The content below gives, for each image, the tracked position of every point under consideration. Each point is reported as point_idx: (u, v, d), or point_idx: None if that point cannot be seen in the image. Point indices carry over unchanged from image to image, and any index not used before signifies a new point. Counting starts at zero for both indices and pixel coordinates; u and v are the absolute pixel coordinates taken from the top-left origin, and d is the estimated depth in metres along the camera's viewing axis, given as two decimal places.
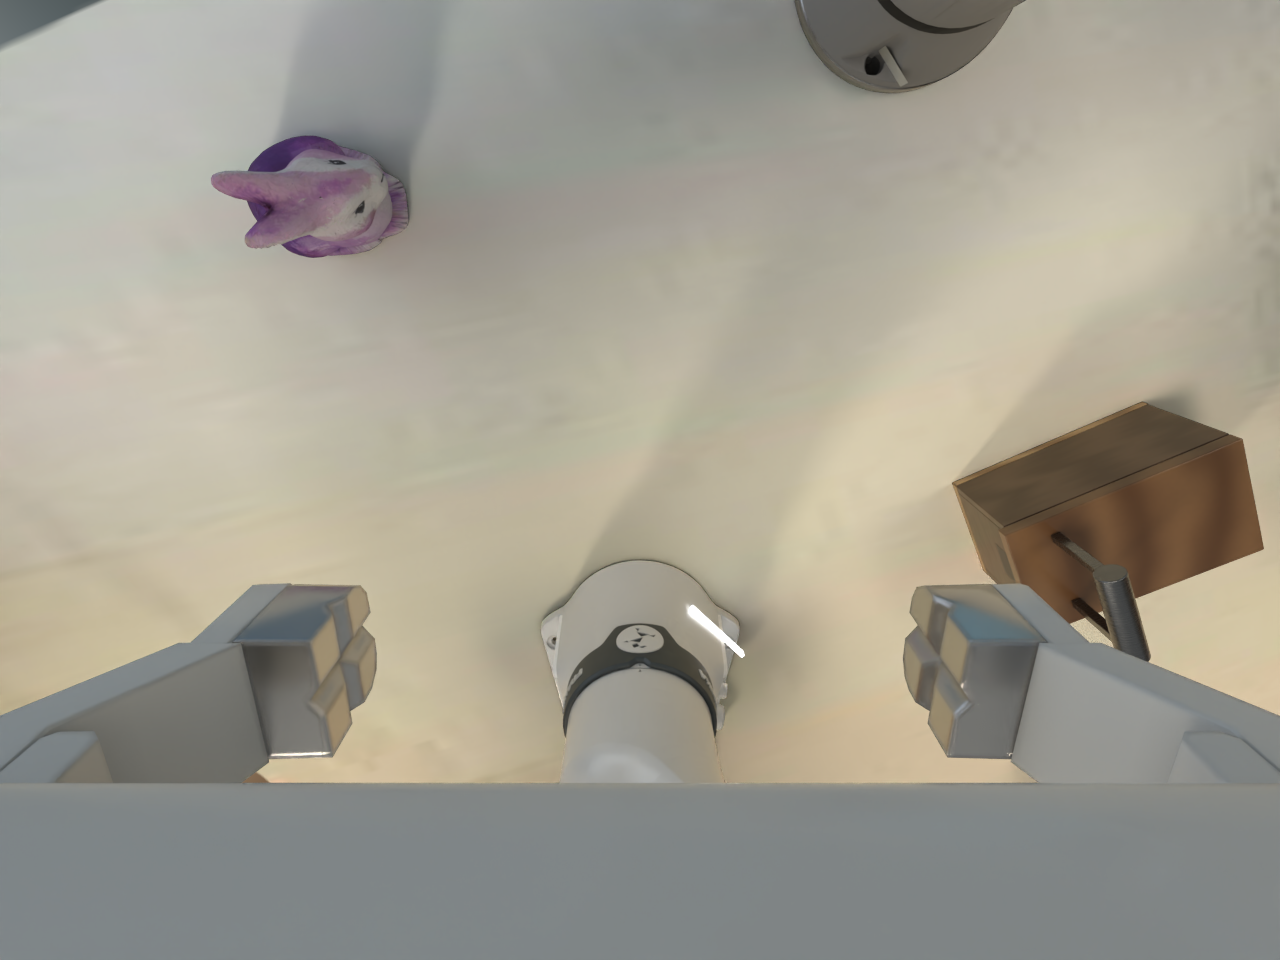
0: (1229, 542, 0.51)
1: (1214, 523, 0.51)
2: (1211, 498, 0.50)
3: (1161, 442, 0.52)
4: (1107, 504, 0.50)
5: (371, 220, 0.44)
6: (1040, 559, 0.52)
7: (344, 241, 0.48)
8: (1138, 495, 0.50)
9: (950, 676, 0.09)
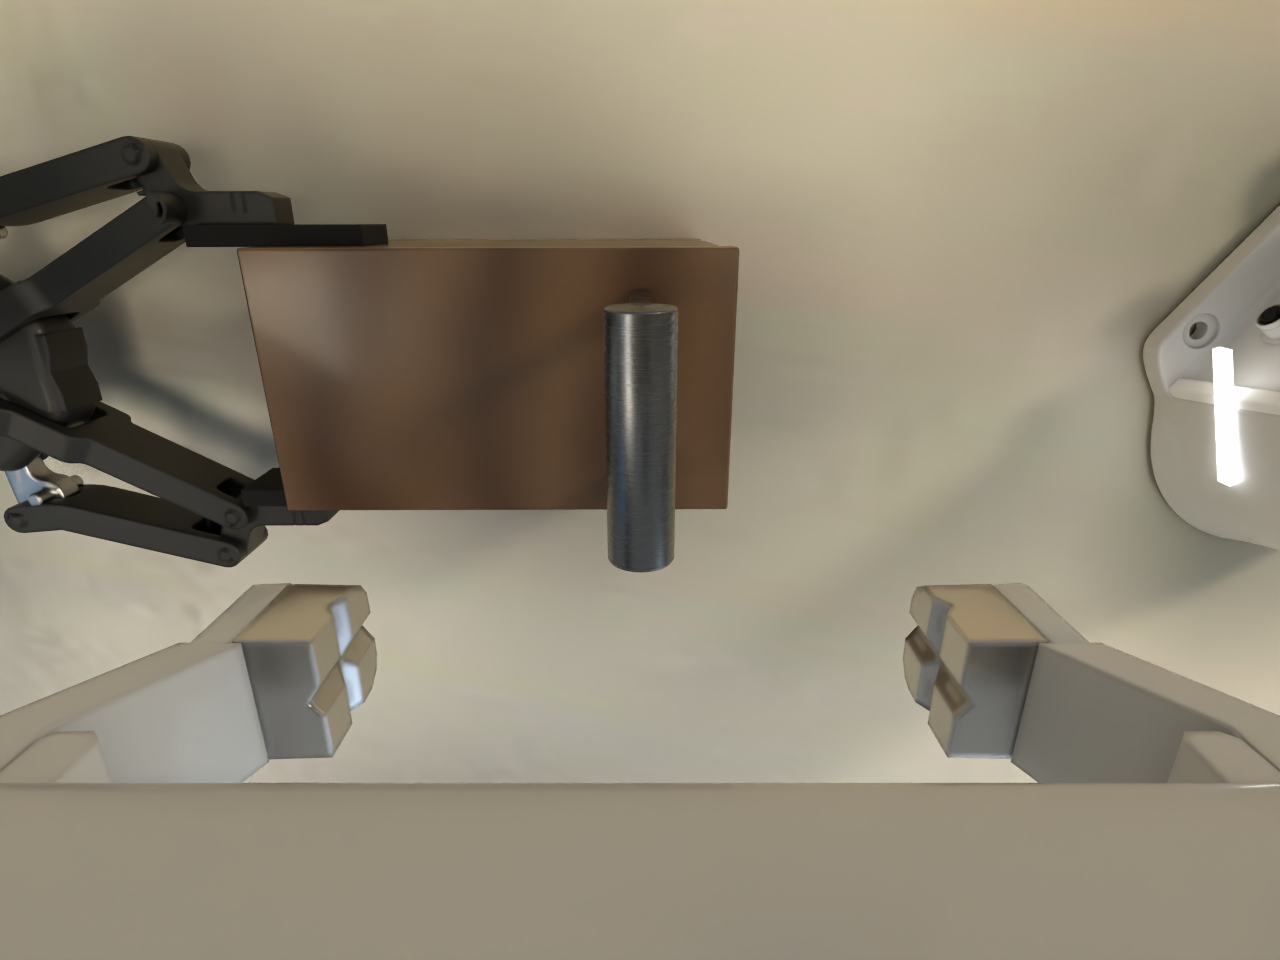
0: (310, 300, 0.24)
1: (340, 360, 0.25)
2: (345, 419, 0.25)
3: None
4: (535, 490, 0.26)
5: None
6: (681, 433, 0.26)
7: None
8: (478, 483, 0.26)
9: (950, 676, 0.09)
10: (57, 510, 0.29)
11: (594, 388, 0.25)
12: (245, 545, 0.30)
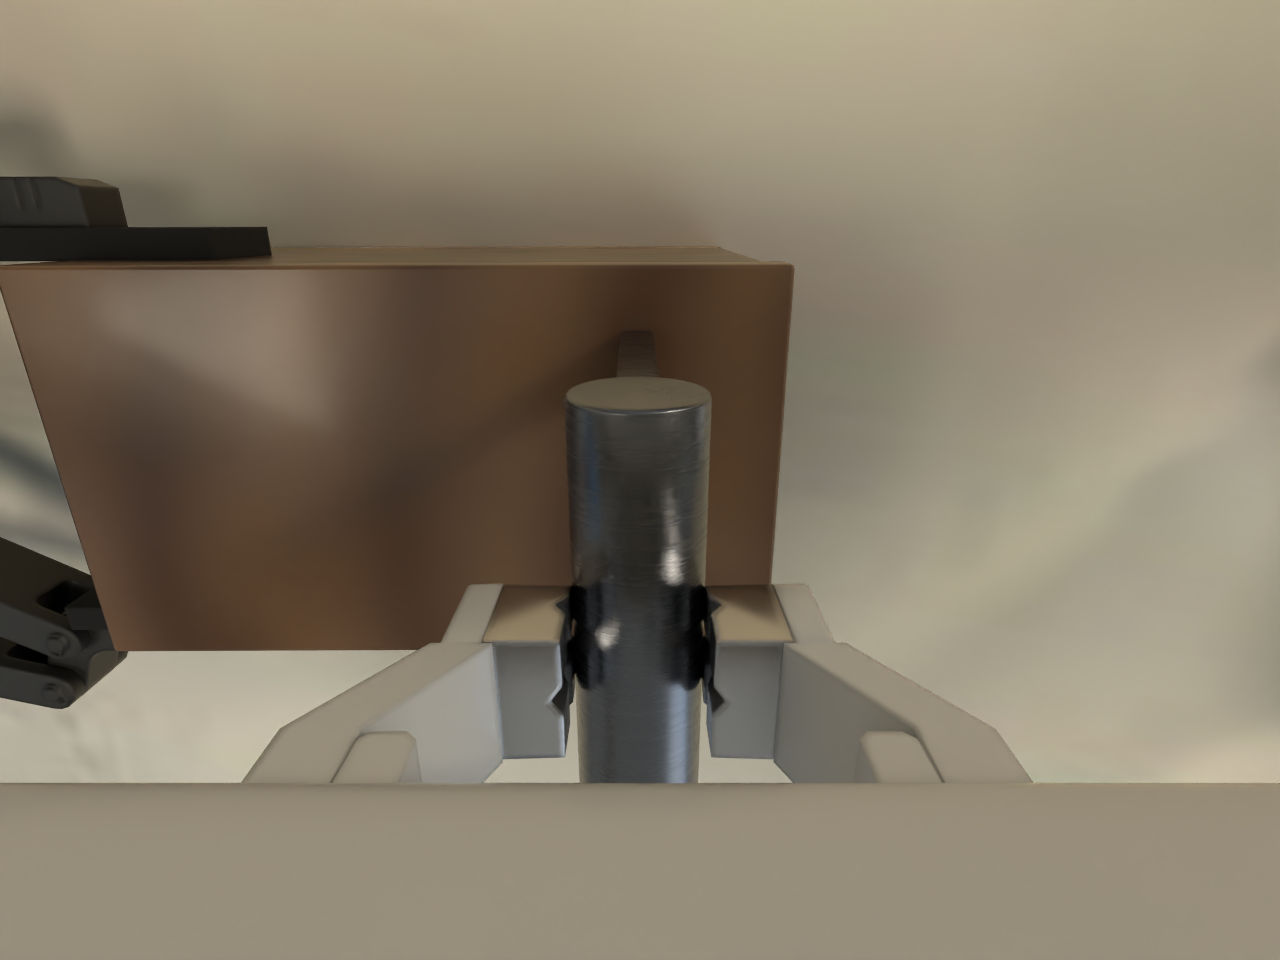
0: (119, 347, 0.15)
1: (174, 437, 0.16)
2: (189, 523, 0.17)
3: None
4: None
5: None
6: None
7: None
8: (396, 614, 0.18)
9: None
10: None
11: None
12: (83, 677, 0.22)
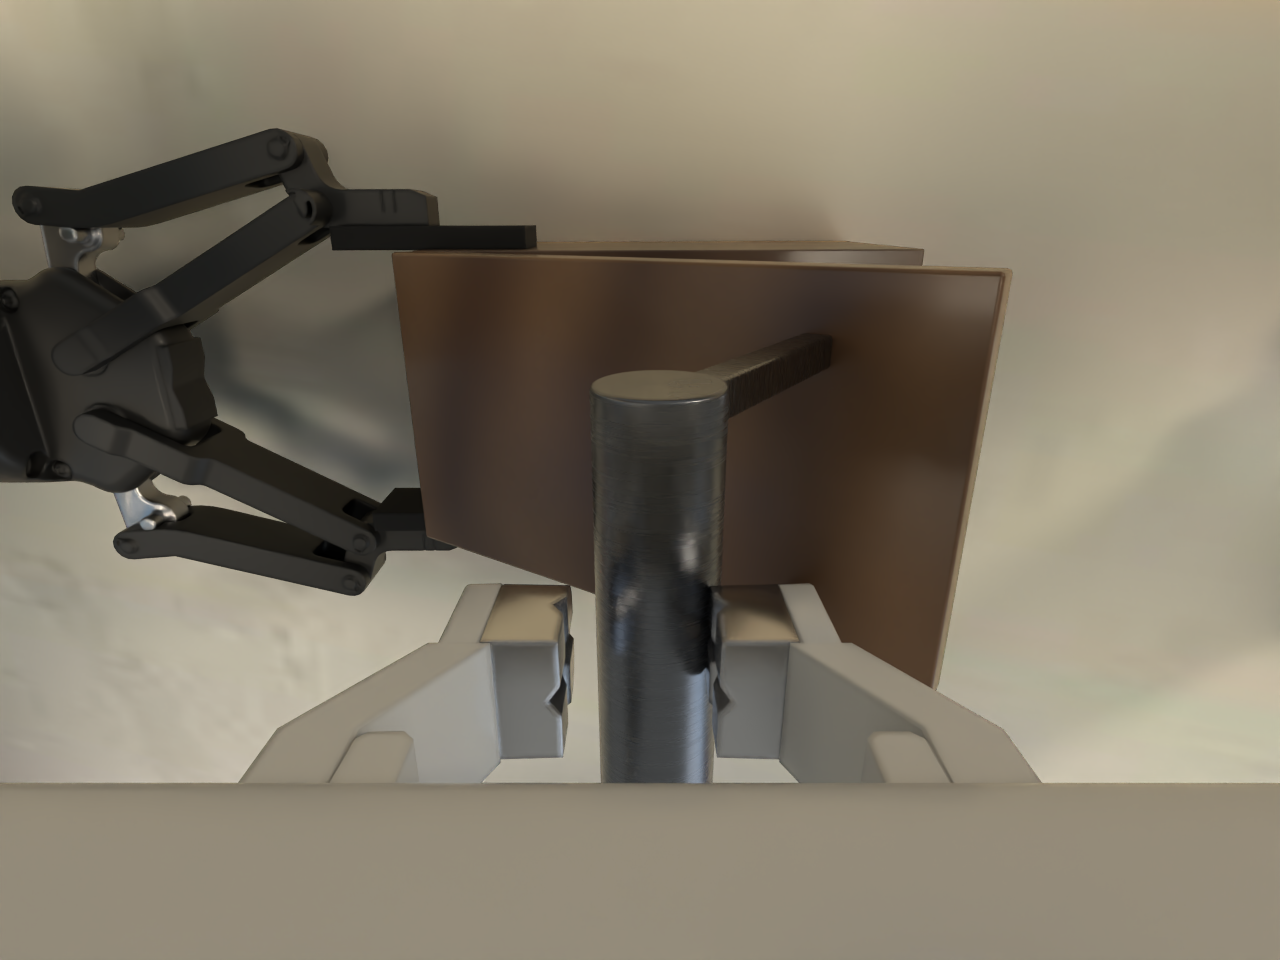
0: (446, 314, 0.21)
1: (469, 385, 0.21)
2: (472, 453, 0.22)
3: None
4: None
5: None
6: (862, 569, 0.16)
7: None
8: (593, 562, 0.20)
9: None
10: (171, 535, 0.27)
11: (738, 472, 0.17)
12: (370, 572, 0.28)
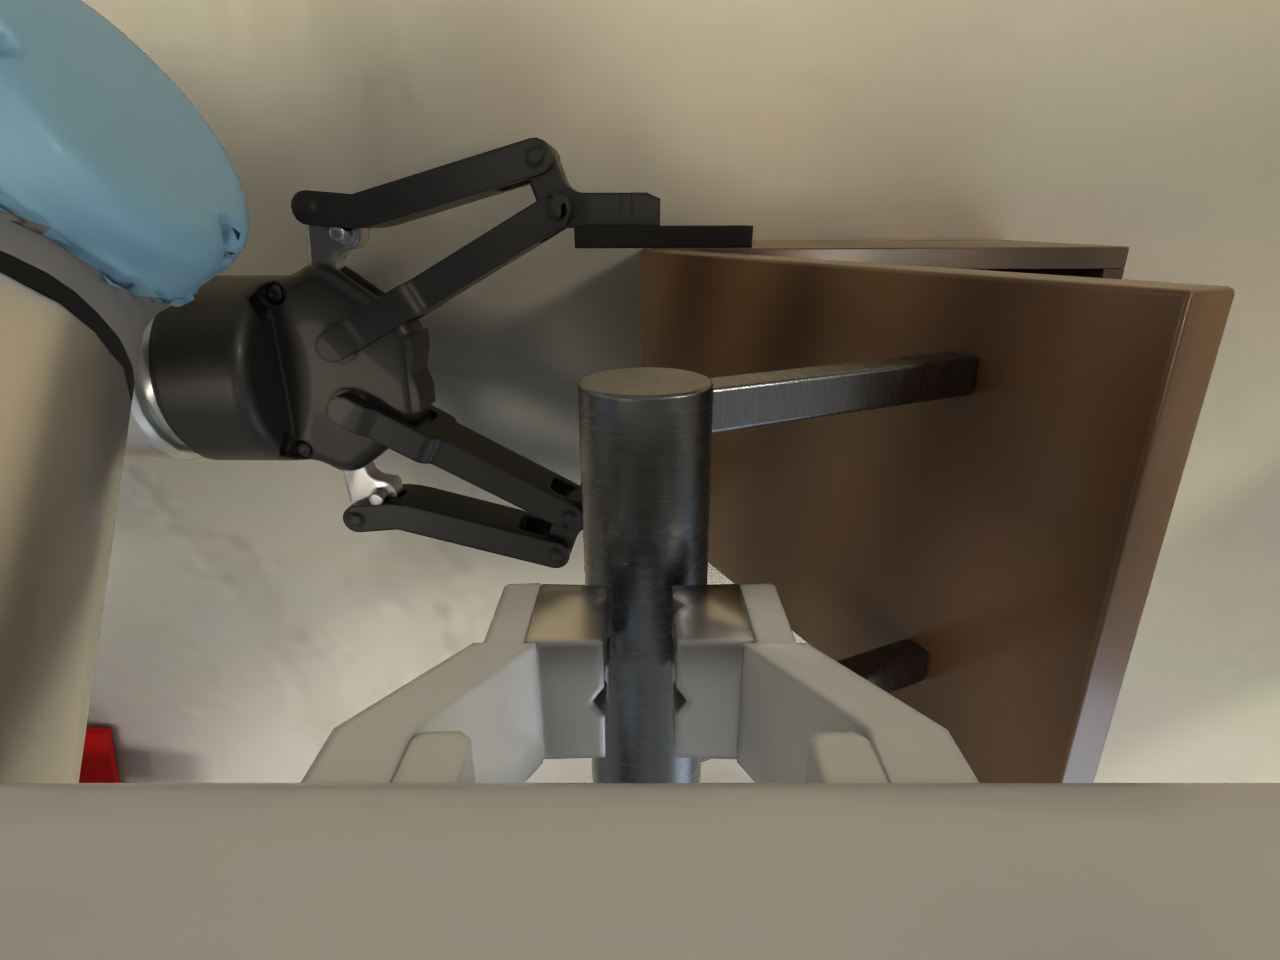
0: (670, 307, 0.22)
1: None
2: None
3: None
4: (796, 607, 0.18)
5: None
6: (987, 641, 0.13)
7: None
8: (751, 564, 0.20)
9: None
10: (396, 510, 0.29)
11: (876, 499, 0.15)
12: (570, 546, 0.30)
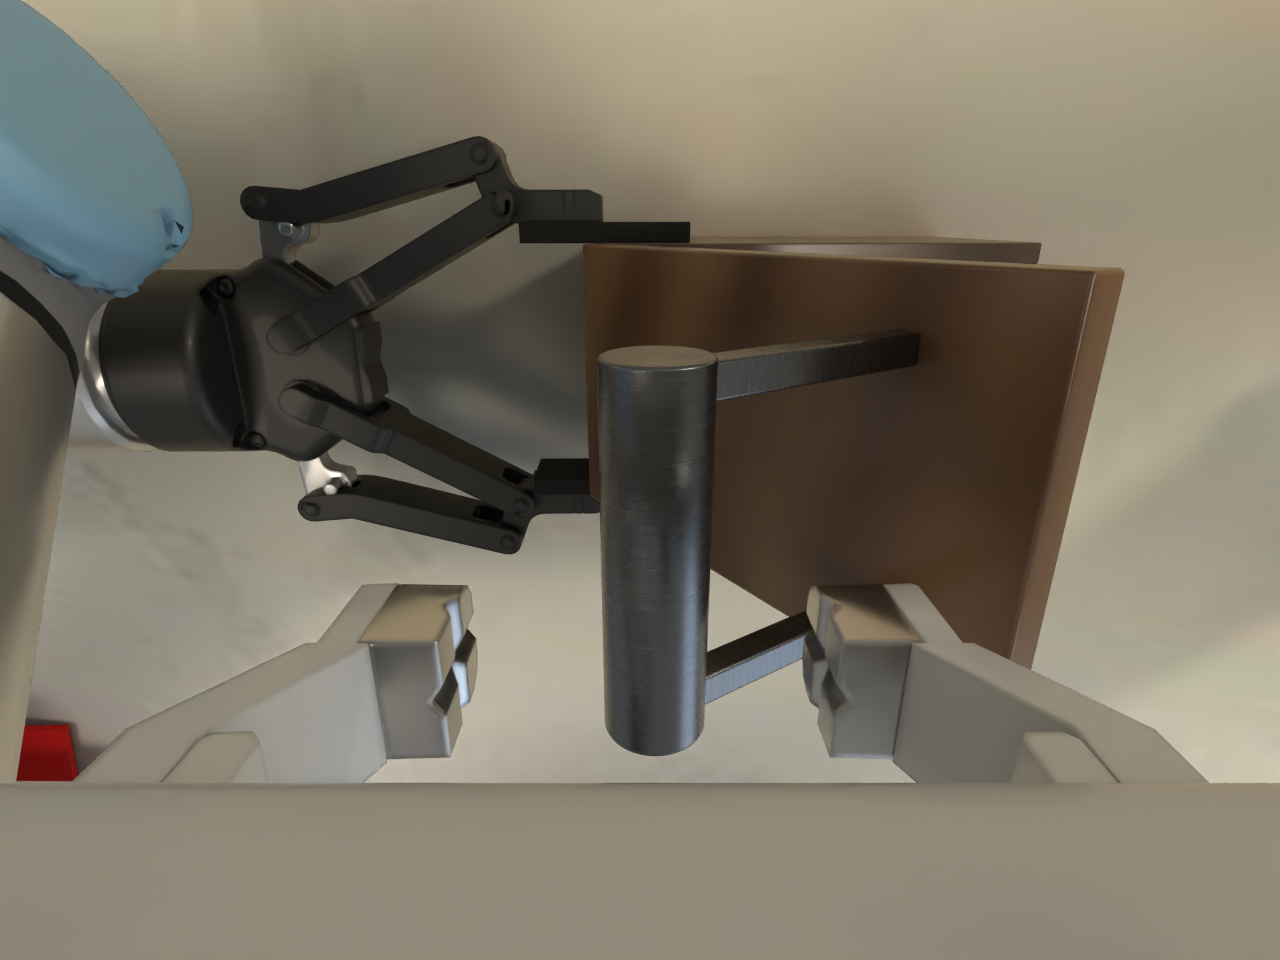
0: (616, 299, 0.23)
1: None
2: None
3: None
4: (754, 571, 0.20)
5: None
6: (935, 579, 0.15)
7: None
8: None
9: None
10: (351, 499, 0.30)
11: (830, 464, 0.17)
12: (523, 533, 0.31)
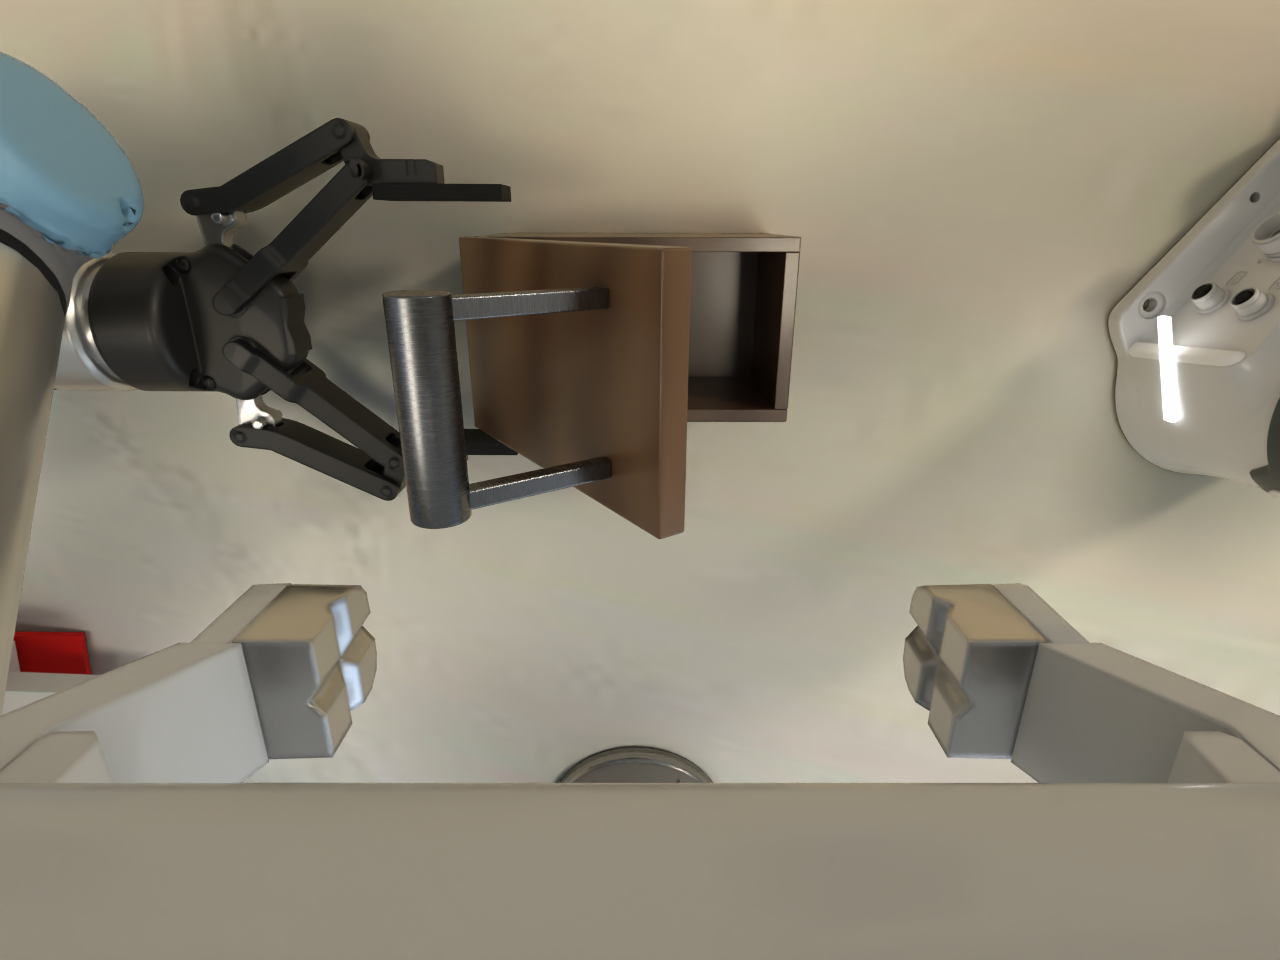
0: (478, 276, 0.33)
1: (487, 322, 0.33)
2: (489, 368, 0.34)
3: None
4: (558, 460, 0.29)
5: None
6: (629, 442, 0.24)
7: None
8: (535, 441, 0.31)
9: (950, 676, 0.09)
10: (272, 435, 0.39)
11: (583, 377, 0.26)
12: (400, 487, 0.41)
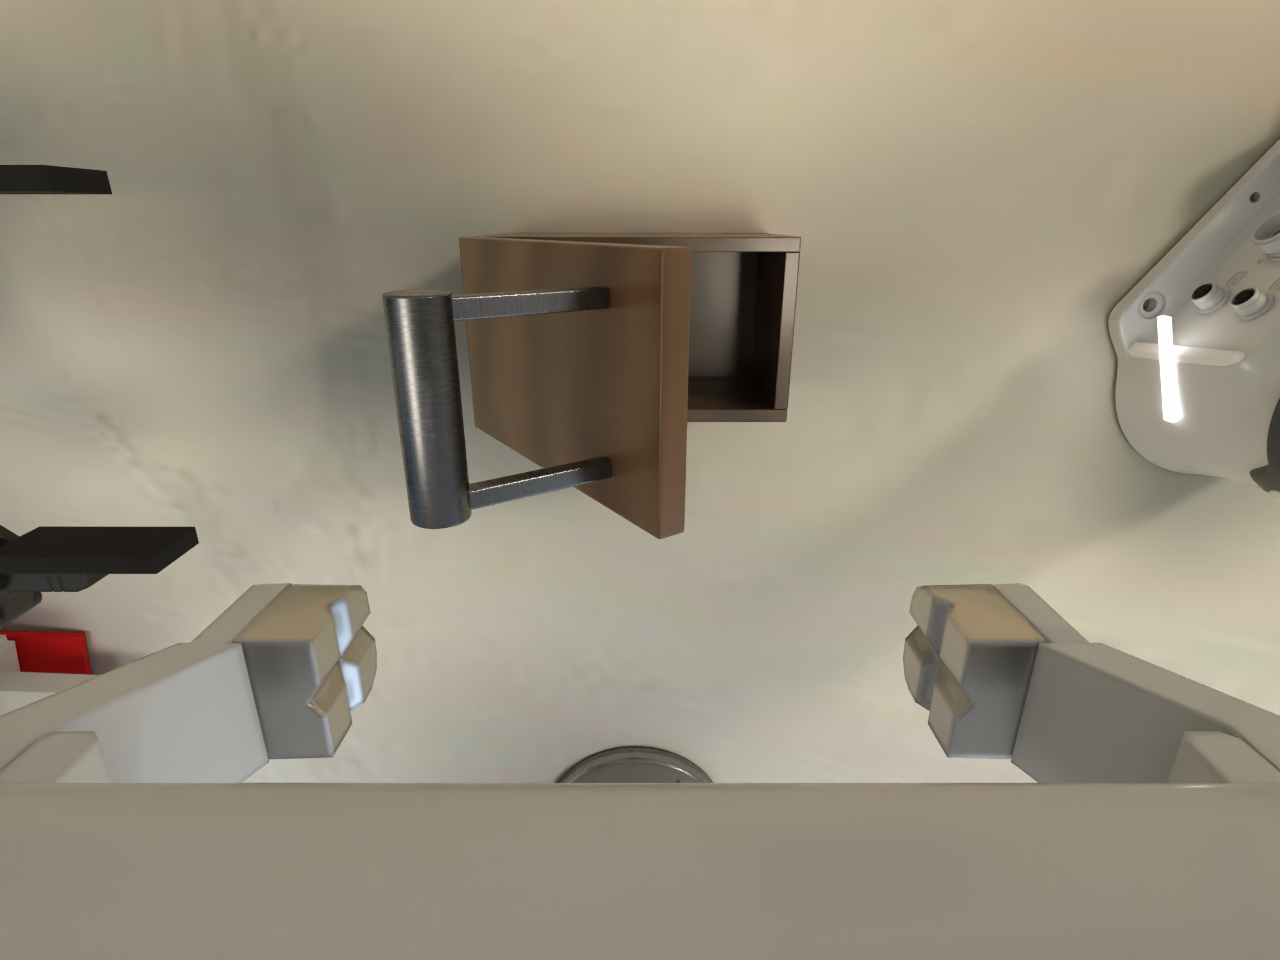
0: (478, 276, 0.33)
1: (487, 322, 0.33)
2: (489, 368, 0.34)
3: None
4: (558, 460, 0.29)
5: None
6: (629, 442, 0.24)
7: None
8: (535, 441, 0.31)
9: (950, 676, 0.09)
10: None
11: (583, 377, 0.26)
12: (3, 615, 0.28)
